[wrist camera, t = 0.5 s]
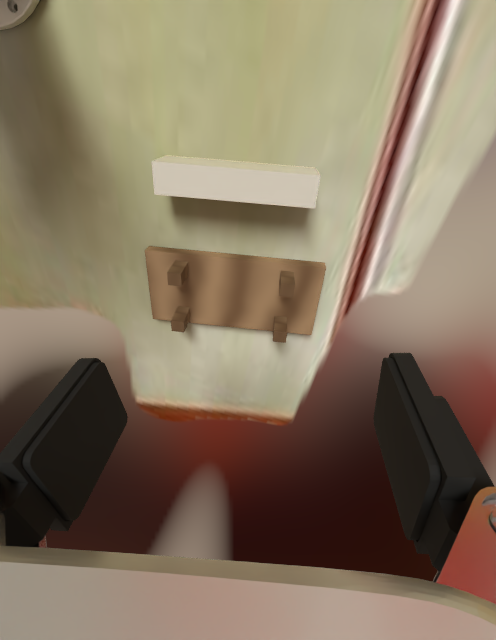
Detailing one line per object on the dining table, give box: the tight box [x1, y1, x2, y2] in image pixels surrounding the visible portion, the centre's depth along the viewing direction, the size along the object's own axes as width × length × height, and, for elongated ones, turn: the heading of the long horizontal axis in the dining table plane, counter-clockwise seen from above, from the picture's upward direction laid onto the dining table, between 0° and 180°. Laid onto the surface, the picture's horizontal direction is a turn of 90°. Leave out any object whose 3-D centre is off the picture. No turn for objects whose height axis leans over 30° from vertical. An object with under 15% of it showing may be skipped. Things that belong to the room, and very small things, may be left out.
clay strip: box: [152, 155, 321, 209], centre depth 33 cm, size 16×3×5 cm, turn 86°
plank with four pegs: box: [145, 246, 326, 343], centre depth 41 cm, size 22×10×5 cm, turn 86°
